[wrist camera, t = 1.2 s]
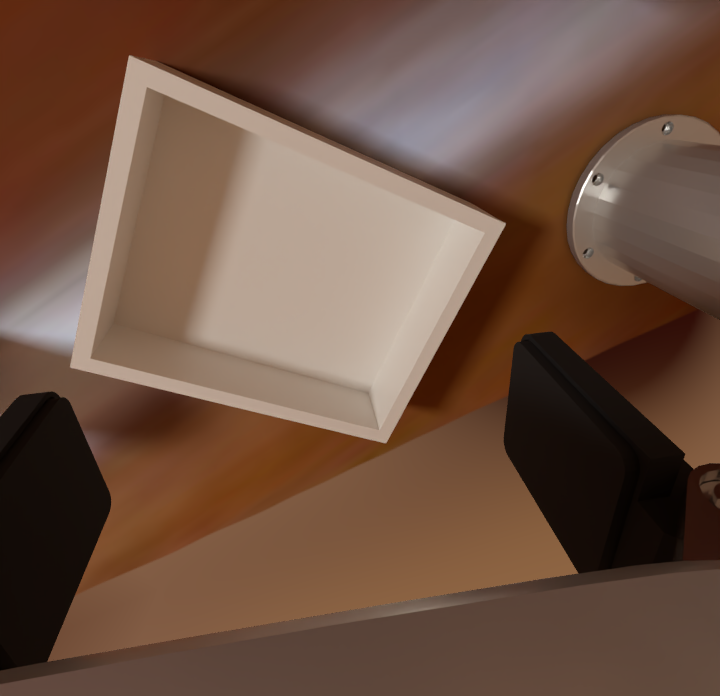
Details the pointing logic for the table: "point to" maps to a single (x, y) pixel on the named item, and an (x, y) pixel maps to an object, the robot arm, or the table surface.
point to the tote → (268, 262)
